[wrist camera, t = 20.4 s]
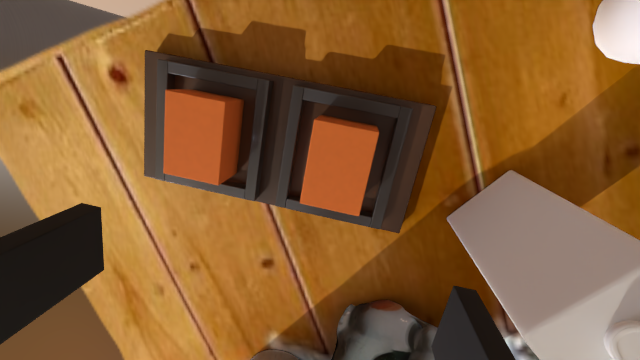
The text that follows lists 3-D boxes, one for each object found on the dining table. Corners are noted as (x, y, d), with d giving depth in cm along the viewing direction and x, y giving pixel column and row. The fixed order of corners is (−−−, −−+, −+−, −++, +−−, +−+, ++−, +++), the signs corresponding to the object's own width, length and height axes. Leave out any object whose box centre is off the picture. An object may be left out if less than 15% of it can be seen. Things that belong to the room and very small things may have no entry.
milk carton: (558, 222, 28) (901, 458, 10) (492, 266, 30) (680, 526, 12) (509, 168, 28) (789, 321, 10) (445, 217, 30) (573, 418, 12)
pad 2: (307, 188, 29) (299, 203, 25) (320, 114, 27) (314, 118, 23) (359, 199, 29) (359, 216, 25) (377, 125, 27) (379, 132, 23)
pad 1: (188, 162, 30) (162, 173, 26) (191, 89, 28) (164, 89, 24) (237, 173, 30) (218, 185, 26) (244, 99, 27) (225, 101, 24)
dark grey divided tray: (153, 172, 32) (135, 179, 30) (155, 51, 29) (135, 48, 26) (397, 226, 31) (400, 239, 28) (432, 105, 27) (440, 106, 24)
